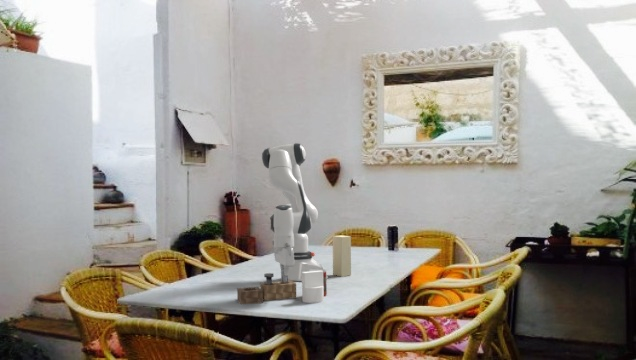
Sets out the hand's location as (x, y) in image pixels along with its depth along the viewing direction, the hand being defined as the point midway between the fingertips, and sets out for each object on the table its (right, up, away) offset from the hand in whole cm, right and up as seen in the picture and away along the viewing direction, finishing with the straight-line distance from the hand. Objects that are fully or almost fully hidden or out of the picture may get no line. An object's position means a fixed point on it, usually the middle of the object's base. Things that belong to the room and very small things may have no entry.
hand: (284, 274), depth 228 cm
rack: (-14, -10, -8) cm, 19 cm away
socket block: (-3, -10, -1) cm, 10 cm away
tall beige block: (+28, -10, +53) cm, 61 cm away
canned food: (+14, -10, +1) cm, 17 cm away
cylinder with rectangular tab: (+12, -10, -9) cm, 18 cm away
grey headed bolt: (-7, -8, -2) cm, 10 cm away
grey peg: (0, -10, 0) cm, 10 cm away
